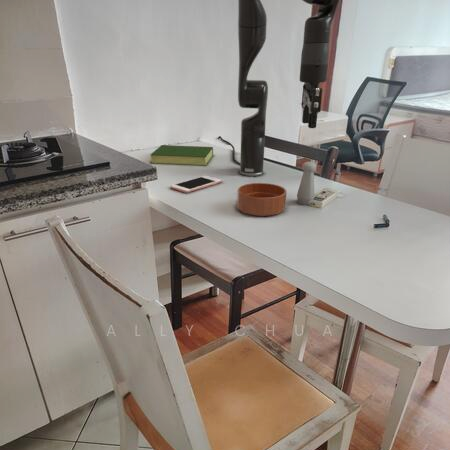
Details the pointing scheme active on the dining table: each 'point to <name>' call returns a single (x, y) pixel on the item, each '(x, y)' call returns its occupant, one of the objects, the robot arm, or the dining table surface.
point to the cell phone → (195, 184)
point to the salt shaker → (307, 184)
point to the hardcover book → (182, 155)
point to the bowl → (261, 199)
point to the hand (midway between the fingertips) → (308, 125)
